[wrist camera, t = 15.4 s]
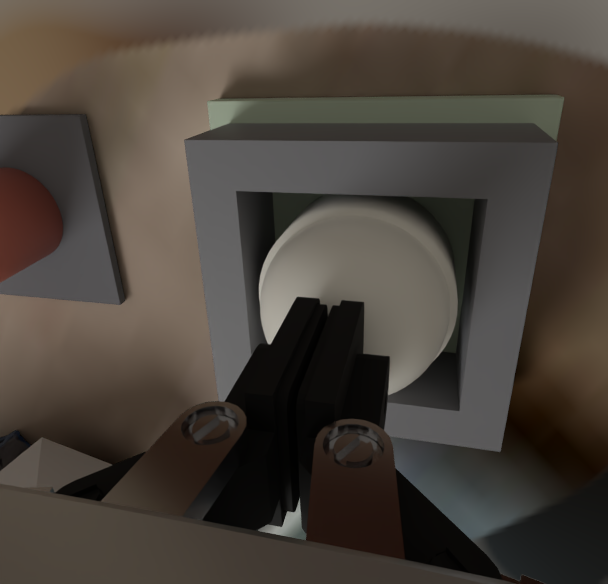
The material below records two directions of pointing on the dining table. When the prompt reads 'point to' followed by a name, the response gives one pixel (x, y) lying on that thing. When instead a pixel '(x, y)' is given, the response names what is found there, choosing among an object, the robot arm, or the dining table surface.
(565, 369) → the dining table surface
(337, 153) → the popper base
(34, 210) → the pawn
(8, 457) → the vhs cassette tape
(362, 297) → the popper dome
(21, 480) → the die
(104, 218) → the coaster
